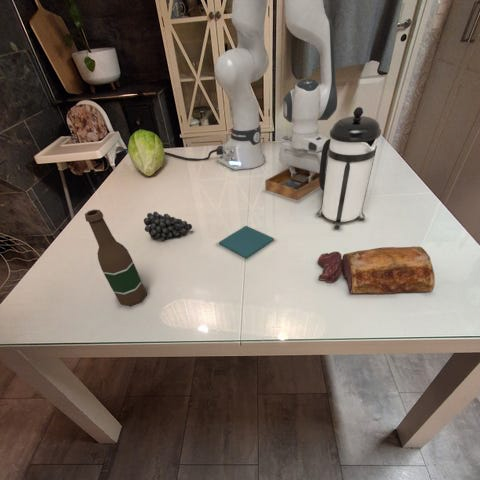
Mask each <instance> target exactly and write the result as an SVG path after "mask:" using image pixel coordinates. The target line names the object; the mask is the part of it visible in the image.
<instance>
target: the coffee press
mask: <svg viewBox="0 0 480 480" xmlns="http://www.w3.org/2000/svg"><path fill="white" fill-rule="evenodd" d="M352 113H353V116H347V117H344V118H341V119H339V120H337V121H336V122H335V123H334V124H333V126H332V128H331V129H330V130H329V138H327V139H328V140H327V141H326V142H325V143H324V145H323V149H322V154H321V163H320V172H319V184H320V187H319V188H320V189H321V192H322V197H321V198H322V199H321V206H320V208H319V210H317V212H316V215H318V214H319V213H320V211H321V212H322V213H321V214H320V215H318V217H319V218H320V217H322V216H324V217H325V218H326V219H328V220H330V221H332V222H335V224H334V229H335V230H339V229H340V226H341V223H344V222H351V221H353V220H355V219H358V220H359V221H360V222H363V221H364V220H365V218H366V216H365V214H364V212H363V209H364V205H365V200H366V196H367V195H366V194H367V191H368V187H369V184H370V183H369V182H370V179H371V175H372V170H373V165H374V161H375V158H376V157H375V156H376V151H377V149H378V148H377V147H378V146H377V143H378V140H379V138H380V136H381V133H382V130H381V128H380V127H381V126H380V124H379V122H378V121H377V120H376V119H375V118H372V117H370V116H364V115H363V114H364V109H363V107H361V106H358V107H356V108H355V109H354V110H353V112H352ZM327 154H328V157H327ZM326 162H327V165H326ZM325 171H326V172H325ZM360 215H361V216H362V217H363V218H362V217H361V216H360Z"/></svg>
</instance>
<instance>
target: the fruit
mask: <svg viewBox="0 0 480 480" xmlns="http://www.w3.org/2000/svg"><path fill="white" fill-rule="evenodd" d="M143 223H144V225H145V227H144V231H145V232H147V233H148V235H149V236H150V238H151V239H152V240H154V239H155V240H156V239H157V238H158V239H159V241H160V242H164V241H165V240H166V239H170V238H171V237H173V236H174V237H179V236H180V237H182V236H184V234H185V235H186V234H188V232H189V231H190V230H192V229H193V225H192V224H191V223H188V221H187V220H182V219H181V218H176V217H174V216H171V215H170V214H168V213H164V214H159V213H158V212H157V211H153V213H152V212H148V213H147V214H146V217H145V218H144V219H143Z"/></svg>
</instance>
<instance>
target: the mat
mask: <svg viewBox="0 0 480 480" xmlns="http://www.w3.org/2000/svg"><path fill="white" fill-rule="evenodd" d="M274 241H275V238H274V237H272V236H270V235H267V234H265V233H263V232H261V231H259V230H256V229H254V228H252V227H250V226H248V225H245V226H243V227H241V228H240V229H238V230H237V231H235V232H233V233H232V234H230V235H228V236H227V237H225V238H223V239H222V240H219V242H218V244H219V246H221V247H223V248H225V249H226V250H229V251H231V252H233V253H235V254H236V255H239V256H240V257H243V258H244V259H249V258H250V257H252V256H253V255H255V254H256V253H257V252H259V251H261V250H262V249H264V248H266V246H268V245H269V244H271V243H272V242H274Z"/></svg>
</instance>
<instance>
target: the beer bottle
mask: <svg viewBox="0 0 480 480" xmlns="http://www.w3.org/2000/svg"><path fill="white" fill-rule="evenodd" d="M84 219H85V221H86V223H87V222H88V224H89V226H90V229H91V231H92V233H93V236H94V238H95V240H96V242H97V243H96V244H97V246H98V249H97V260H98V264H99V266H100V269H101V271H102V274H103V275H104V277H105V278H106V280H107V283H108V284H109V286H110V288H111V290H112V291H113V293H114V296H115V297H116V299H117V301H118V302H119V304H120V305H122V306H127V307H133V306H136V305H139V304H141V303H142V302H143V301H144V299H145V298H146V296H147V295H148V294H147V291H146V289H145V286H144V284H143V282H142V279H141V276H140V275H139V274H140V273H139V272H138V270H137V267H136V265H135V263H134V261H133V258H132V256H131V254H130V252H129V249H127V248H126V246H124V245H123V244H122V243H120V242H118V241H117V240H116V238H115V237H114V236H113V234H112V231H111V230H110V228H109V226H108V225H107V222H106V221H105V218H104V214H103V212H102V211H101V209H95V208H94V209H91V210H88V211H87V212H86V213H84Z"/></svg>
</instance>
